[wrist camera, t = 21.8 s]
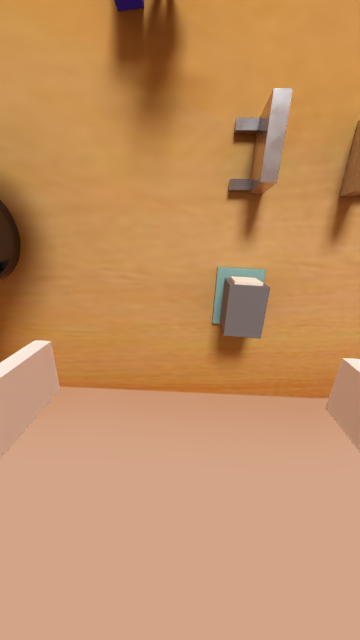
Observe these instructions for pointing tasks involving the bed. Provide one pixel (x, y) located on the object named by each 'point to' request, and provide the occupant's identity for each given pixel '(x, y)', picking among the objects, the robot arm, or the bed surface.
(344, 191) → the channel
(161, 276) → the bed surface
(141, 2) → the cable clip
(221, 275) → the mat
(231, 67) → the bed surface
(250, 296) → the grey rectangular block
